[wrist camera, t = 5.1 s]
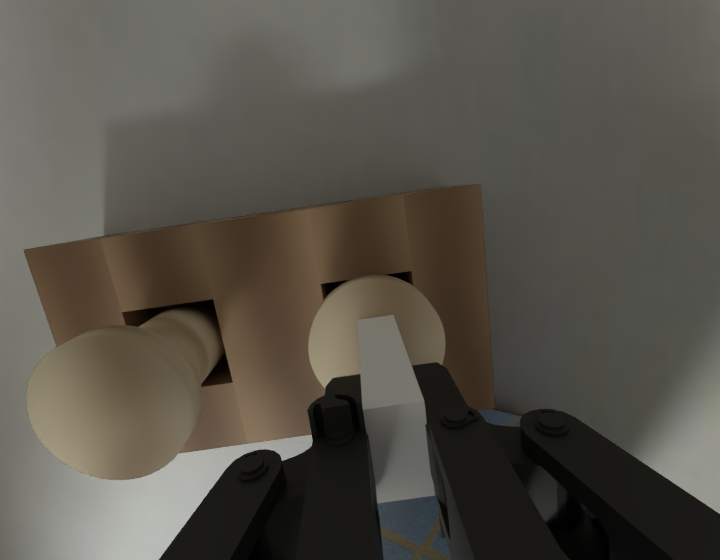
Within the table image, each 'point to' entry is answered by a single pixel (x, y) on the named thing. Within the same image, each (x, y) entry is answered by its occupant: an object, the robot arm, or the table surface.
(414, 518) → the planter
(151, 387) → the peg
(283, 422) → the socket block
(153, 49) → the table surface
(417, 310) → the peg
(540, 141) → the table surface
